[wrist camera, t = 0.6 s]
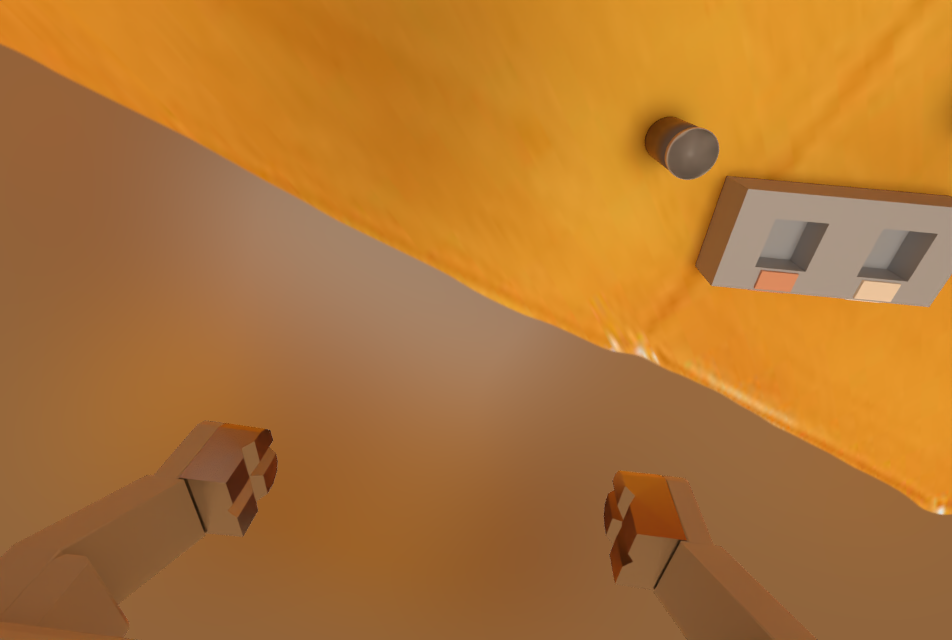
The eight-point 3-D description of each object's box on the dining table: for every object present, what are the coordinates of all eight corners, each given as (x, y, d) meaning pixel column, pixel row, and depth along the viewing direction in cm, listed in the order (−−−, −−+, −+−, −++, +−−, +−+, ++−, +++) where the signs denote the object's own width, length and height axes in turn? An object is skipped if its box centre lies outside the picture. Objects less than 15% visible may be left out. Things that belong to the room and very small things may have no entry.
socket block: (726, 176, 46) (749, 189, 41) (949, 196, 45) (997, 212, 40) (694, 269, 51) (711, 290, 47) (892, 288, 50) (929, 311, 46)
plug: (650, 114, 43) (675, 126, 37) (693, 118, 43) (726, 130, 36) (639, 158, 46) (661, 177, 39) (680, 161, 45) (709, 181, 39)
